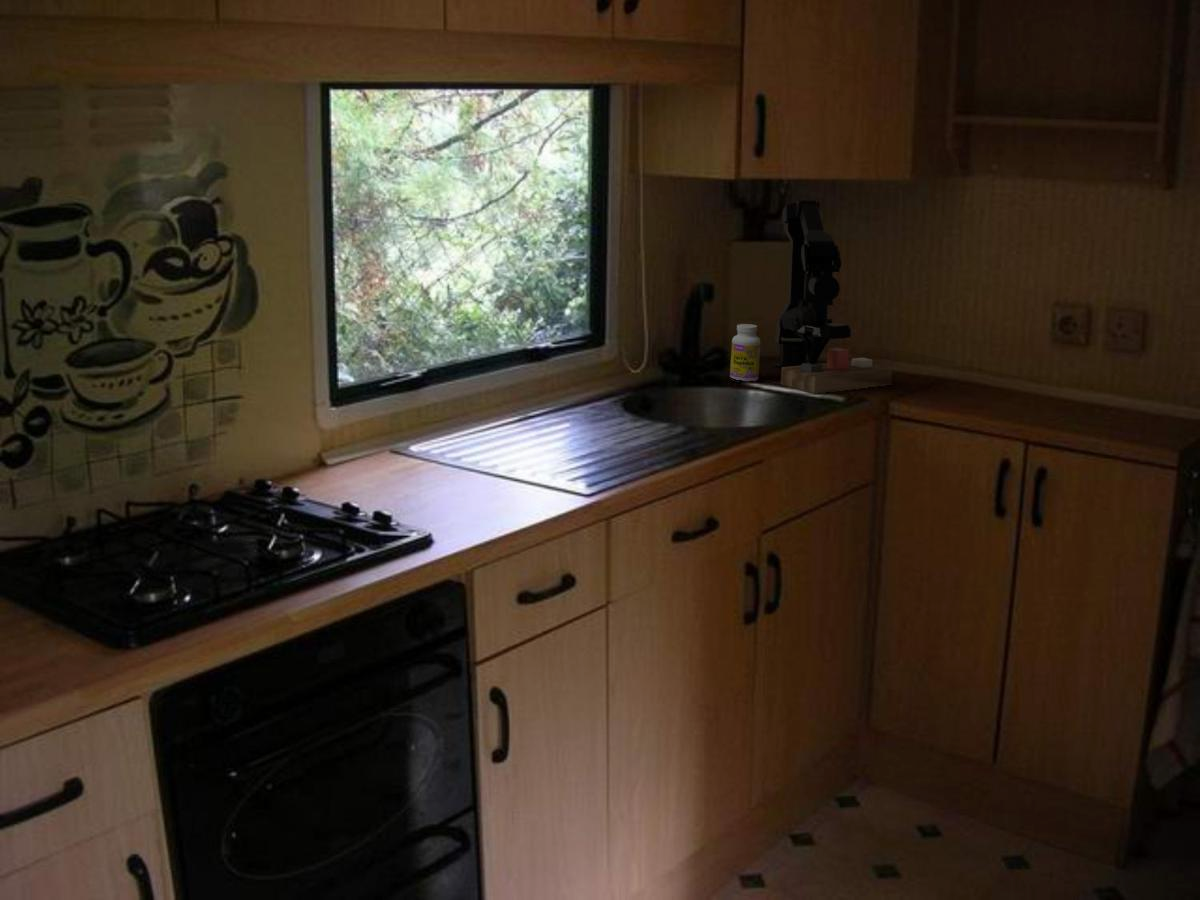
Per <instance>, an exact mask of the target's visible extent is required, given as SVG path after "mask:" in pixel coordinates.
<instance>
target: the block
mask: <svg viewBox="0 0 1200 900" xmlns="http://www.w3.org/2000/svg"><path fill="white" fill-rule="evenodd" d="M851 363H852V359H851V360H848V369H844V370H833V369H829V368H827V362H822V363H820V364H821V365H823V372H815V373H809V372H805V371H802V370H801V368H802V365H801V366H791V367H782V368H781V371H780V372H781V373H780V374H781V376H780V385H781V384H782V386H784V385H785V387H788V388H791V389H795V390H798V389H799V391H801V390H802V392H805V391H806V392H805V393H808V392H809V393H808V394H812V393H813V394H812V395H818V394H817V393H821V394H827V393H826V392H830V393H836V392H837V391H839V392H846V391H845V390H848V391H854V390H853V389H856V390H860V389H859V388H865V389H869V388H868V387H874V388H877V387H876V386H883V387H886V386H885V385H891V386H892V378H893V368H891V367H888V366H883V365H880V364H877V363H876V364H875V363H872V367H864V368H860V367H856V366H852V365H851ZM837 393H838V392H837Z"/></svg>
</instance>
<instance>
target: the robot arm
mask: <svg viewBox="0 0 1200 900" xmlns="http://www.w3.org/2000/svg"><path fill="white" fill-rule="evenodd" d="M781 213H782V215H781V218H782V220H781V221H782V224H784V226H783V227H784V228H783V229H784V233H785V234H786V236H787V237H788V239H789V243H790V246H789V266H788V267H789V268H788V270H789V271H788V272H789V273H788V293H787V295H788V296H787V303H786V304H785V306H784V307H783V309H782V310H781V312H780V318H779V319H778V321H777V325H776V329H775V333H774V334H775V335H774V338H775V339H774V341H775V343H777V345H779V348H780V349H779V363H774V367H776V368H781V369H782V367H791V366H801V365H802V363H807V358H808V363H810V364H815V363H817V362H818V359H819V358H820V355H821V354H822V352H823V351H824V349H825V347H826V346H827V344H828V343H829V341H830V340H835V339H836V340H837V339H839V340H840V339H850V338H851V335H852V328H851V326H850V325H849V324H845V323H841V322H834V323H833V322H832V321H833V319H832V318H829V310H830V309H829V308H830V306H833V305H834V300H835V299H836V298H837V297H838V295H839V293H840V289H841V287H840V282H839V281H838V280H837V279H836V278H835V277H833V276H834V275H833V273H840V269H841V268H842V267H841V266H842V258H841V253H840V249H839V248H838V245H837V244H836V242H835V240H834V238H833V236H832V235H831V234H829V233H827V232H826V231H825V227H824V224H823V219H822V206H821V204H820V201H819V200H817V199H800V200H797V201H795V202H793V203H788V204H785V207H783V209H782V212H781Z"/></svg>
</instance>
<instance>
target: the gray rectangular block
mask: <svg viewBox="0 0 1200 900" xmlns="http://www.w3.org/2000/svg"><path fill="white" fill-rule="evenodd" d="M801 370H802V371H805V372H809V373H815V372H823V365H821V363H817V362H816V363H815V364H810V363H809V362H806V363H802V368H801Z"/></svg>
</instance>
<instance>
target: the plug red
mask: <svg viewBox="0 0 1200 900" xmlns="http://www.w3.org/2000/svg"><path fill="white" fill-rule="evenodd" d="M849 355H850V350H849V349H844V348H842V347H841V348H840V347H835V348H828V349H827V355H826V356H827V357H826V363H827V368H829V369H833V370H844V369H848V361H849V357H850V356H849Z"/></svg>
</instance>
